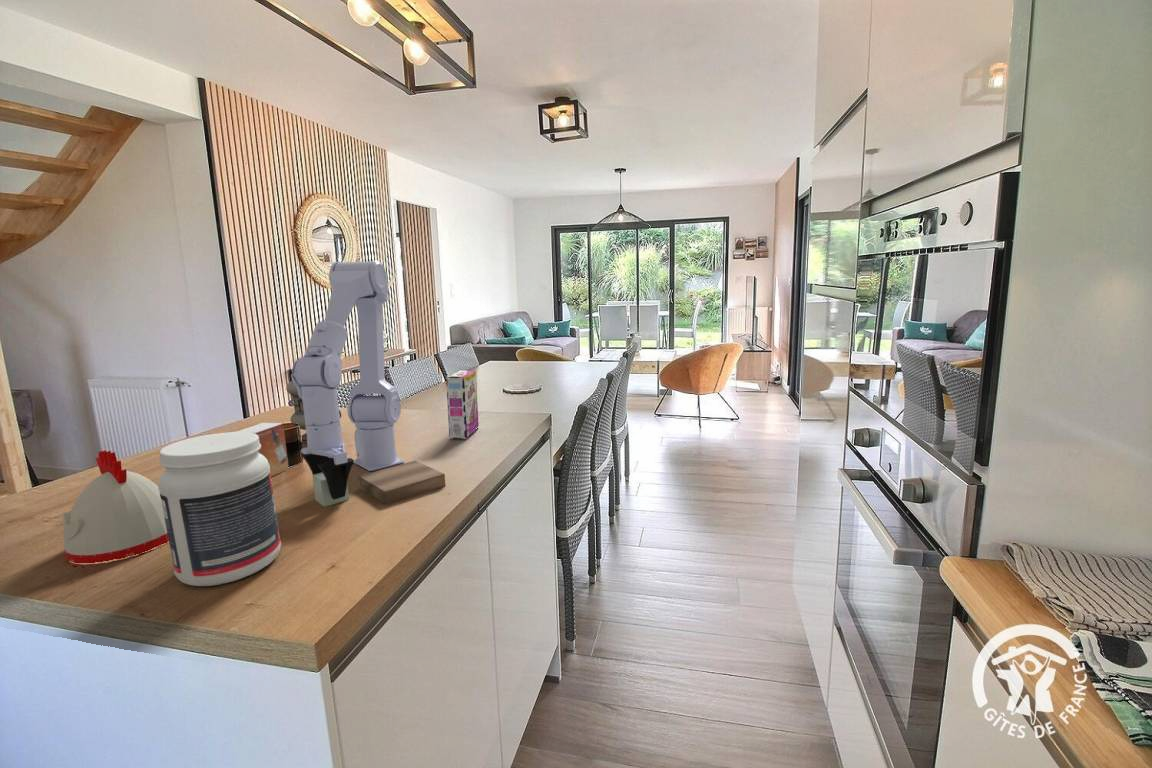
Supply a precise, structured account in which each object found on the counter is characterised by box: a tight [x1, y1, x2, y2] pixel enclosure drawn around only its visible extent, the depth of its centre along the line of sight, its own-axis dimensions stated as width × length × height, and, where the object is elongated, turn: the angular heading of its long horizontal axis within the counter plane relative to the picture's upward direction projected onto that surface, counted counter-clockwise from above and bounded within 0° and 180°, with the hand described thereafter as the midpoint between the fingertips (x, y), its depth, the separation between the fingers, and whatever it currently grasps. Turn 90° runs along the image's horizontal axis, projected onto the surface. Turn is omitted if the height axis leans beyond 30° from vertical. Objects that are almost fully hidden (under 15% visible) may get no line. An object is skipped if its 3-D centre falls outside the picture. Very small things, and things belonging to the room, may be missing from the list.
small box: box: [234, 422, 289, 478], centre depth 111 cm, size 8×6×10 cm
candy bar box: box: [445, 369, 479, 440], centre depth 138 cm, size 11×5×16 cm, turn 174°
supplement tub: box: [157, 431, 282, 587], centre depth 73 cm, size 13×13×18 cm
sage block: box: [311, 472, 350, 507], centre depth 98 cm, size 4×4×5 cm
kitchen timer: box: [62, 449, 169, 563], centre depth 82 cm, size 14×14×15 cm
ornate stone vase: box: [286, 380, 342, 444], centre depth 138 cm, size 12×12×18 cm
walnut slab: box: [358, 460, 446, 506], centre depth 103 cm, size 12×12×3 cm
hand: (331, 492), depth 98 cm, fingers open, 7 cm apart
